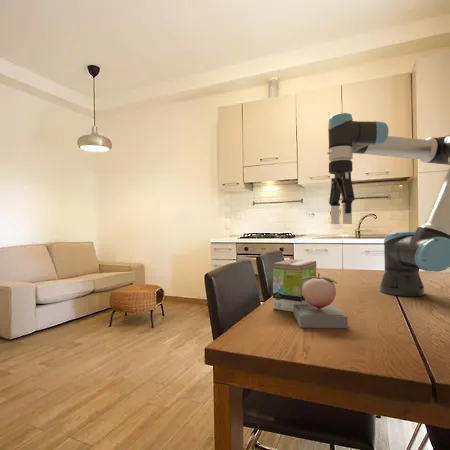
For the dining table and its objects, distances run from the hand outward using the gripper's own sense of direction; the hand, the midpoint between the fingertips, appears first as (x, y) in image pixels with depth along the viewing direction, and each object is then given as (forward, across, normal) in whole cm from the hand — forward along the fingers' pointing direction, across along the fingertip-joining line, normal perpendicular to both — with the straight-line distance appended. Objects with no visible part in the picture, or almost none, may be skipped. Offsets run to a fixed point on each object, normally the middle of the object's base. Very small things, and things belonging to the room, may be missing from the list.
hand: (340, 224), depth 107 cm
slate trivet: (+27, +20, -12) cm, 35 cm away
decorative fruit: (+24, +20, -12) cm, 33 cm away
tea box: (+27, +4, -16) cm, 32 cm away
